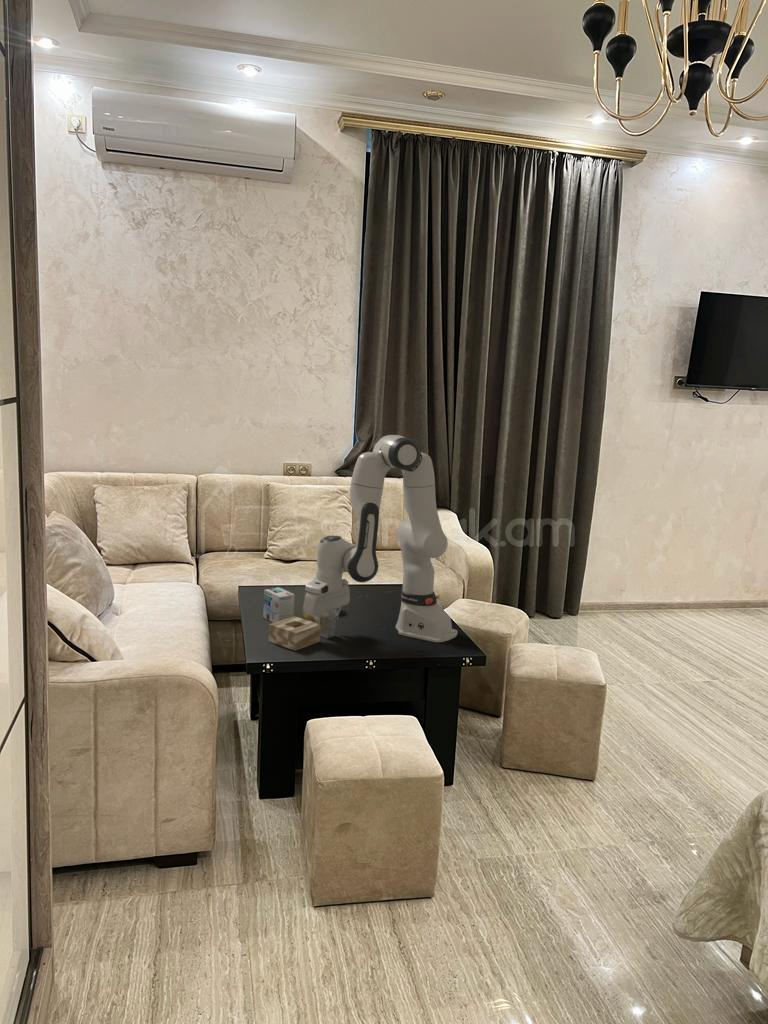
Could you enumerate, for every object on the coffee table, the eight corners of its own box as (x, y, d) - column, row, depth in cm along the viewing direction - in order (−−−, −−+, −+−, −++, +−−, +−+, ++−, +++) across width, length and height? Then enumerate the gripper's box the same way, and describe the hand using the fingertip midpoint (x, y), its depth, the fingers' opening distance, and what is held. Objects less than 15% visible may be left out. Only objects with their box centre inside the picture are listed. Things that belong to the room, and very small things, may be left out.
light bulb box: (262, 617, 276) (263, 589, 274) (278, 614, 281) (279, 586, 279) (278, 626, 268) (279, 596, 266) (294, 622, 273) (295, 594, 271)
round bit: (322, 626, 270) (323, 605, 269) (311, 630, 265) (312, 608, 264) (310, 622, 273) (310, 601, 272) (298, 626, 269) (299, 605, 267)
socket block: (319, 641, 255) (320, 624, 254) (295, 650, 246) (295, 633, 245) (293, 632, 262) (294, 616, 261) (268, 641, 253) (269, 624, 252)
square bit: (334, 635, 262) (336, 607, 260) (327, 638, 258) (328, 610, 257) (326, 632, 264) (327, 605, 262) (318, 635, 261) (319, 607, 259)
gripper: (341, 575, 268) (339, 613, 270) (301, 586, 252) (300, 626, 254) (355, 579, 264) (352, 617, 267) (316, 590, 248) (314, 631, 250)
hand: (326, 622), depth 260 cm, fingers open, 7 cm apart
